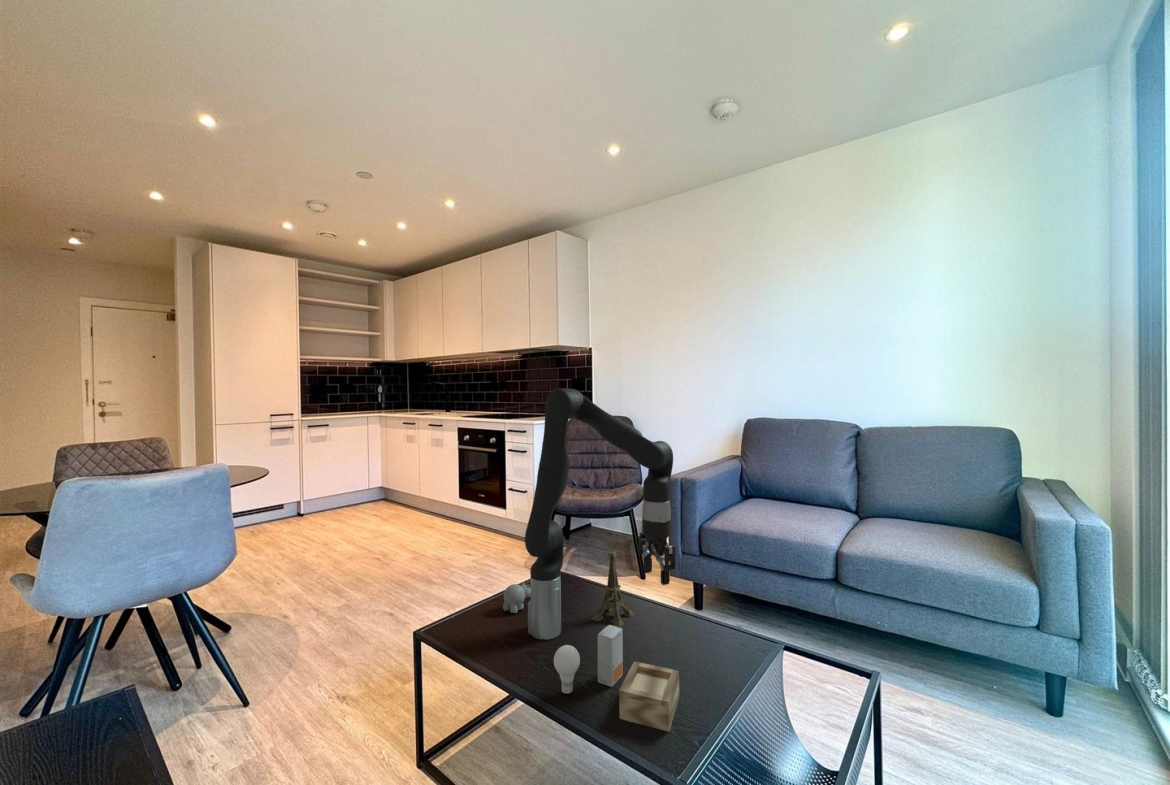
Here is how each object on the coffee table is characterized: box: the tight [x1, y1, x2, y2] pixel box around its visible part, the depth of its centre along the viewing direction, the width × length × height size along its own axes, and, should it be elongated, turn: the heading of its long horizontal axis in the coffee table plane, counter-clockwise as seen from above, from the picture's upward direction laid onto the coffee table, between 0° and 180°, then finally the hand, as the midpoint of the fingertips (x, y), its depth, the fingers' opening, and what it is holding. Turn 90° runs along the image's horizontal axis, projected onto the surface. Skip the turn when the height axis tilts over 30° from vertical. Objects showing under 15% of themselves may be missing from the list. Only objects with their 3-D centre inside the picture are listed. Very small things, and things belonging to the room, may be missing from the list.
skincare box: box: [597, 624, 624, 688], centre depth 114 cm, size 6×4×12 cm
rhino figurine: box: [502, 581, 531, 614], centre depth 155 cm, size 7×12×8 cm, turn 140°
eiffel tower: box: [590, 543, 636, 628], centre depth 148 cm, size 11×11×25 cm
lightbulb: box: [553, 644, 581, 695], centre depth 109 cm, size 6×6×11 cm
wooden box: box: [618, 661, 680, 733], centre depth 103 cm, size 11×12×6 cm
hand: (656, 578), depth 119 cm, fingers open, 8 cm apart
